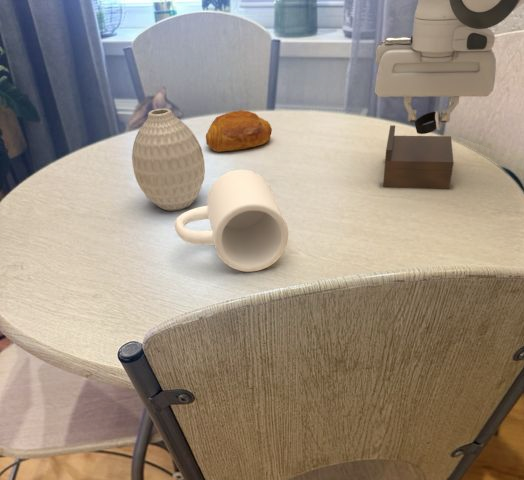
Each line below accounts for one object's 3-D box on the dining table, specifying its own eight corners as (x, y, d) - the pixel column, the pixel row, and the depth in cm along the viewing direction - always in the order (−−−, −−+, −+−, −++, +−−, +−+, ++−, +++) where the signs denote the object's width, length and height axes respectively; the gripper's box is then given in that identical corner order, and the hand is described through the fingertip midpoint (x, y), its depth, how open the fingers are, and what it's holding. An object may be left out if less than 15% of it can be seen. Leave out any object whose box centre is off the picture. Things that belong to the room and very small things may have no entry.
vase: (127, 210, 100) (105, 117, 90) (173, 185, 108) (157, 97, 98) (179, 224, 94) (161, 127, 84) (222, 197, 102) (212, 105, 92)
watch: (437, 138, 96) (440, 116, 94) (410, 136, 97) (412, 115, 95) (443, 124, 101) (446, 104, 99) (418, 123, 103) (420, 103, 101)
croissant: (275, 157, 123) (279, 121, 118) (208, 157, 119) (209, 120, 114) (261, 136, 133) (264, 102, 128) (199, 136, 130) (200, 101, 125)
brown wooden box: (447, 161, 109) (452, 125, 104) (449, 189, 98) (455, 150, 94) (387, 159, 111) (390, 125, 107) (383, 186, 101) (386, 149, 97)
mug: (274, 227, 91) (270, 164, 84) (290, 267, 81) (287, 199, 74) (179, 240, 90) (167, 177, 83) (182, 282, 79) (169, 214, 72)
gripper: (375, 41, 90) (369, 126, 98) (505, 37, 85) (487, 127, 94) (377, 34, 94) (372, 116, 103) (501, 30, 90) (484, 116, 98)
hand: (428, 121), depth 98 cm, fingers closed on watch, 4 cm apart
